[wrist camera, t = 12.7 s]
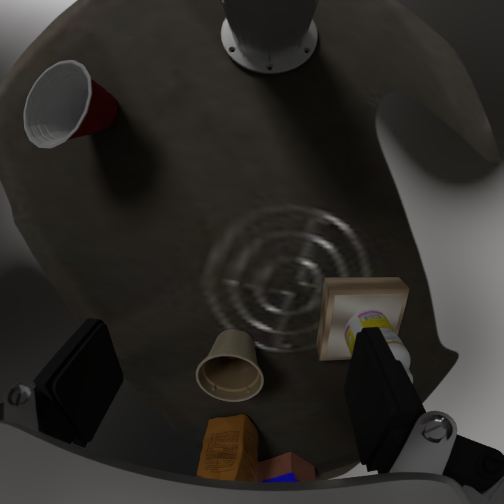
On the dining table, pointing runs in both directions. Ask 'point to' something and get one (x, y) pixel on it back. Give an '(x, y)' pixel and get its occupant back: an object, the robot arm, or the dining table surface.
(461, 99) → the dining table surface
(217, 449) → the coffee package
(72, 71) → the plastic cup
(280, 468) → the house
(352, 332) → the supplement bottle
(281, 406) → the dining table surface
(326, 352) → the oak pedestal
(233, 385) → the flower pot
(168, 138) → the dining table surface
